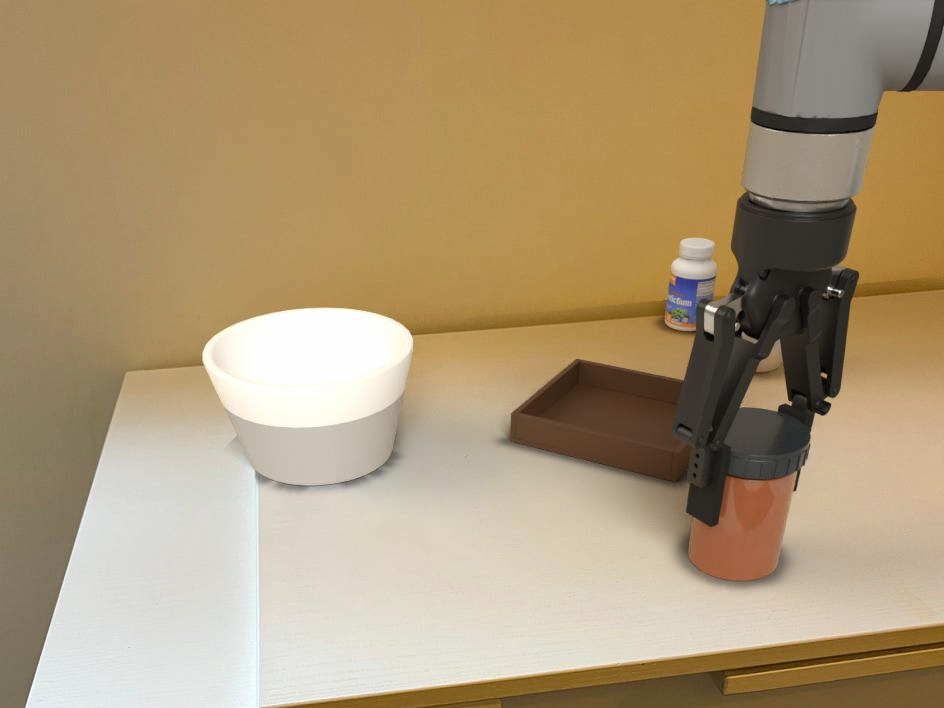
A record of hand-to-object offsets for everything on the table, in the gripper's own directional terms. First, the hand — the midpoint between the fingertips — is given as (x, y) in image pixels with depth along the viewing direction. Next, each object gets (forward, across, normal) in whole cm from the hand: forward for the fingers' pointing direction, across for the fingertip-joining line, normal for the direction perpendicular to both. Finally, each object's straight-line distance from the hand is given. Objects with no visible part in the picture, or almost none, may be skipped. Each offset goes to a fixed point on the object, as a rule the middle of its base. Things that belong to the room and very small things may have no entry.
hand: (741, 501), depth 78 cm
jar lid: (-6, 0, 0) cm, 6 cm away
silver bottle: (+5, -30, -26) cm, 40 cm away
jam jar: (+5, 0, 0) cm, 5 cm away
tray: (+5, -8, -23) cm, 25 cm away
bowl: (+5, +19, -36) cm, 41 cm away
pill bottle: (+5, -33, -39) cm, 52 cm away
